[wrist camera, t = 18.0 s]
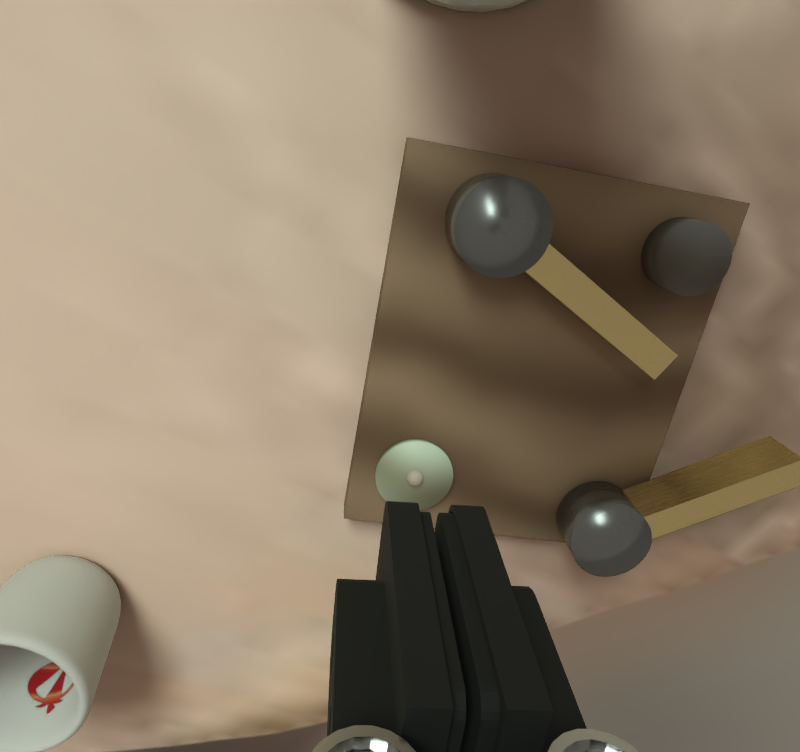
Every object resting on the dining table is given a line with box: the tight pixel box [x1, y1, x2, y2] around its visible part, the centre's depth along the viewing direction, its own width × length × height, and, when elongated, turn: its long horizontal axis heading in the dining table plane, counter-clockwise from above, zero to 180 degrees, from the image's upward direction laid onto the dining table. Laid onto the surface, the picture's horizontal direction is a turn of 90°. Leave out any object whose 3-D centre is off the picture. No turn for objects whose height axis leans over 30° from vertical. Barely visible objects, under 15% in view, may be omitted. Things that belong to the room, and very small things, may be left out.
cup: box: [0, 555, 121, 752], centre depth 34 cm, size 11×8×8 cm
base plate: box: [344, 138, 750, 542], centre depth 33 cm, size 21×18×4 cm
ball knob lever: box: [445, 173, 678, 380], centre depth 30 cm, size 13×4×3 cm, turn 52°
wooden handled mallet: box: [556, 436, 800, 577], centre depth 35 cm, size 13×4×3 cm, turn 111°
